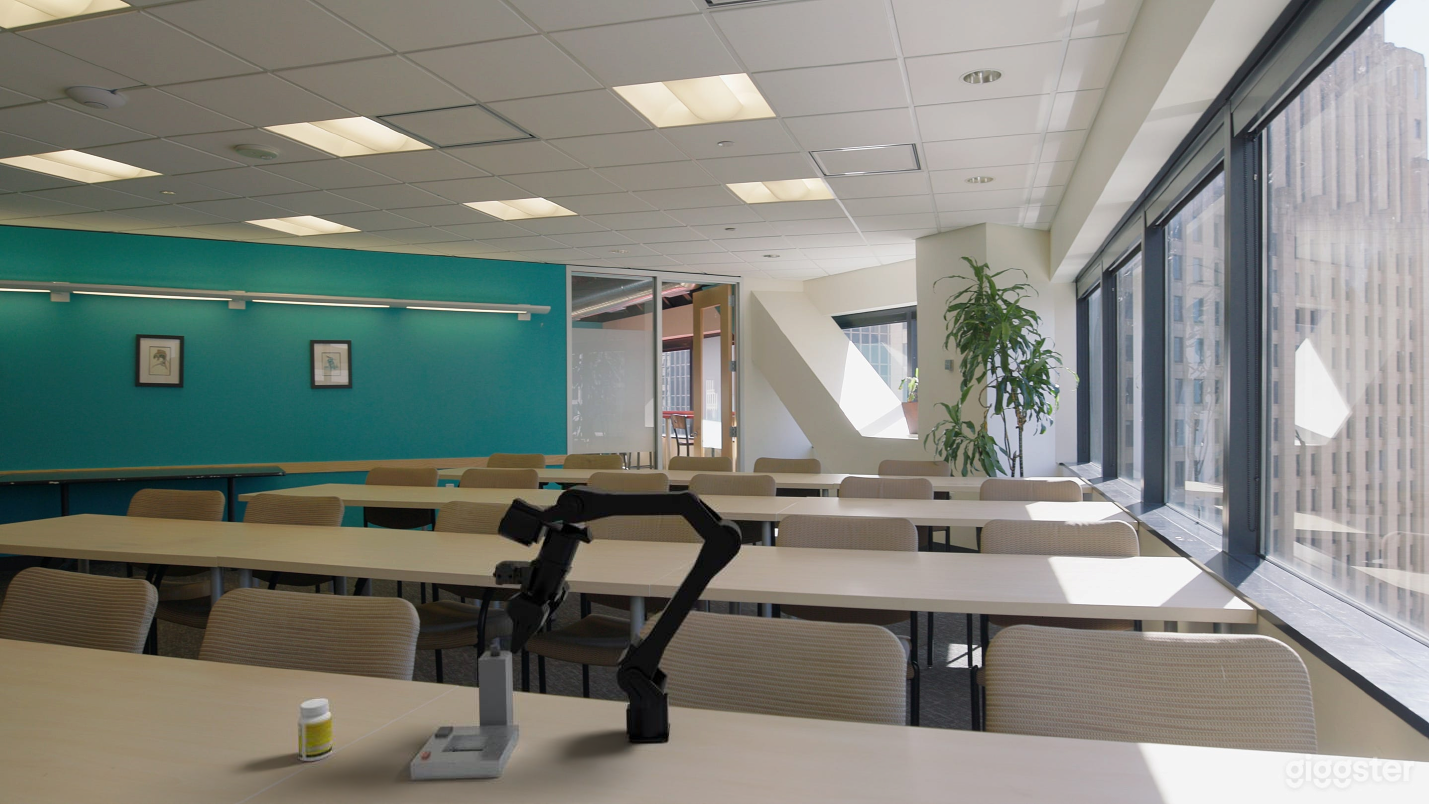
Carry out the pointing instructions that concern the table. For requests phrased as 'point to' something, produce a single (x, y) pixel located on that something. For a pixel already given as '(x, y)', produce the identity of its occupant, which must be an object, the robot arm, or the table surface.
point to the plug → (495, 687)
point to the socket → (447, 764)
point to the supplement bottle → (314, 730)
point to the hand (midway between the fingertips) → (521, 644)
